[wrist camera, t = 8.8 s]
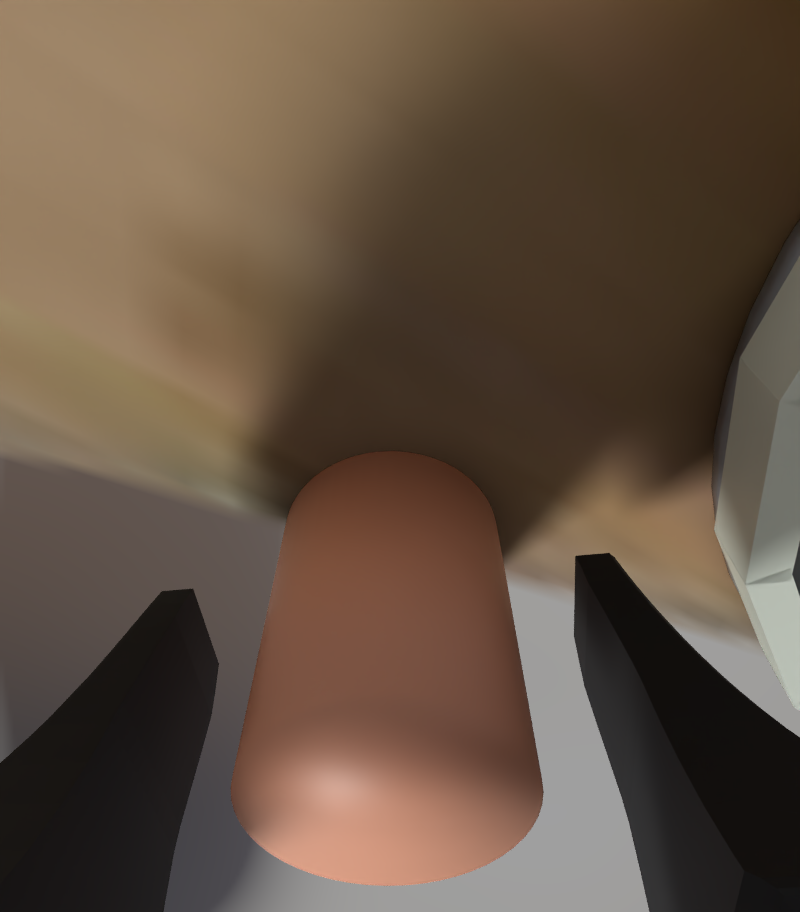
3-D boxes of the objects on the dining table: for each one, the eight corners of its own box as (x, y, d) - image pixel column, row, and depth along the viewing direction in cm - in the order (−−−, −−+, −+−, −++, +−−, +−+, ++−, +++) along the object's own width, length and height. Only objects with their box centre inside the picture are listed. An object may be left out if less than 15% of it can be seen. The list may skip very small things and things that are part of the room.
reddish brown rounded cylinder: (492, 441, 15) (542, 685, 10) (501, 609, 17) (544, 877, 12) (265, 461, 15) (195, 710, 10) (305, 624, 17) (265, 893, 12)
